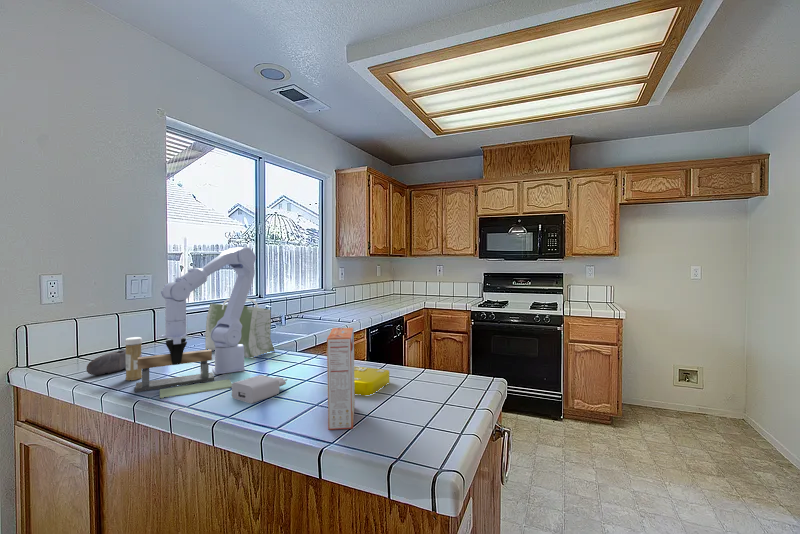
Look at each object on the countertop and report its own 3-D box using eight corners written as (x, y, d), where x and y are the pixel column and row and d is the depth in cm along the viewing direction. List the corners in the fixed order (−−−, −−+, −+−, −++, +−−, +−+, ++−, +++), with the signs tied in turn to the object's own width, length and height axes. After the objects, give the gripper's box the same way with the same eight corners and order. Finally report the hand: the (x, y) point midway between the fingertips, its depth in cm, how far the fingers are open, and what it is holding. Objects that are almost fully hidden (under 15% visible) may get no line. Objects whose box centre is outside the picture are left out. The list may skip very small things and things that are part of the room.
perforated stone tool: (90, 379, 126) (90, 357, 126) (81, 377, 128) (81, 356, 128) (138, 368, 139) (138, 348, 139) (129, 366, 142) (129, 347, 142)
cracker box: (331, 407, 100) (331, 327, 100) (355, 407, 100) (354, 326, 100) (325, 430, 86) (325, 337, 86) (353, 429, 86) (352, 336, 86)
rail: (210, 358, 128) (210, 349, 128) (211, 360, 125) (211, 350, 125) (137, 367, 117) (137, 357, 117) (137, 369, 114) (137, 359, 114)
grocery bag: (277, 351, 165) (277, 298, 165) (250, 358, 153) (249, 300, 153) (231, 344, 182) (231, 295, 182) (203, 349, 170) (203, 297, 170)
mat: (229, 380, 124) (229, 379, 124) (233, 387, 117) (233, 385, 117) (159, 390, 113) (159, 389, 113) (159, 398, 107) (159, 397, 107)
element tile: (324, 392, 113) (324, 375, 113) (350, 378, 127) (350, 363, 127) (370, 398, 108) (370, 381, 108) (391, 383, 121) (391, 368, 121)
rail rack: (211, 375, 130) (211, 356, 130) (214, 380, 124) (214, 360, 124) (136, 385, 118) (136, 364, 118) (135, 392, 112) (135, 370, 112)
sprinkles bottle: (142, 379, 125) (141, 338, 125) (124, 381, 123) (124, 339, 123) (142, 376, 129) (142, 336, 129) (125, 378, 126) (125, 337, 126)
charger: (295, 389, 115) (252, 404, 102) (275, 384, 120) (231, 398, 107) (295, 373, 115) (252, 387, 102) (275, 369, 120) (231, 381, 107)
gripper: (160, 318, 125) (161, 360, 125) (161, 324, 113) (161, 370, 113) (185, 316, 129) (185, 357, 129) (188, 322, 116) (189, 366, 116)
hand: (176, 363), depth 121 cm, fingers closed on rail, 3 cm apart
